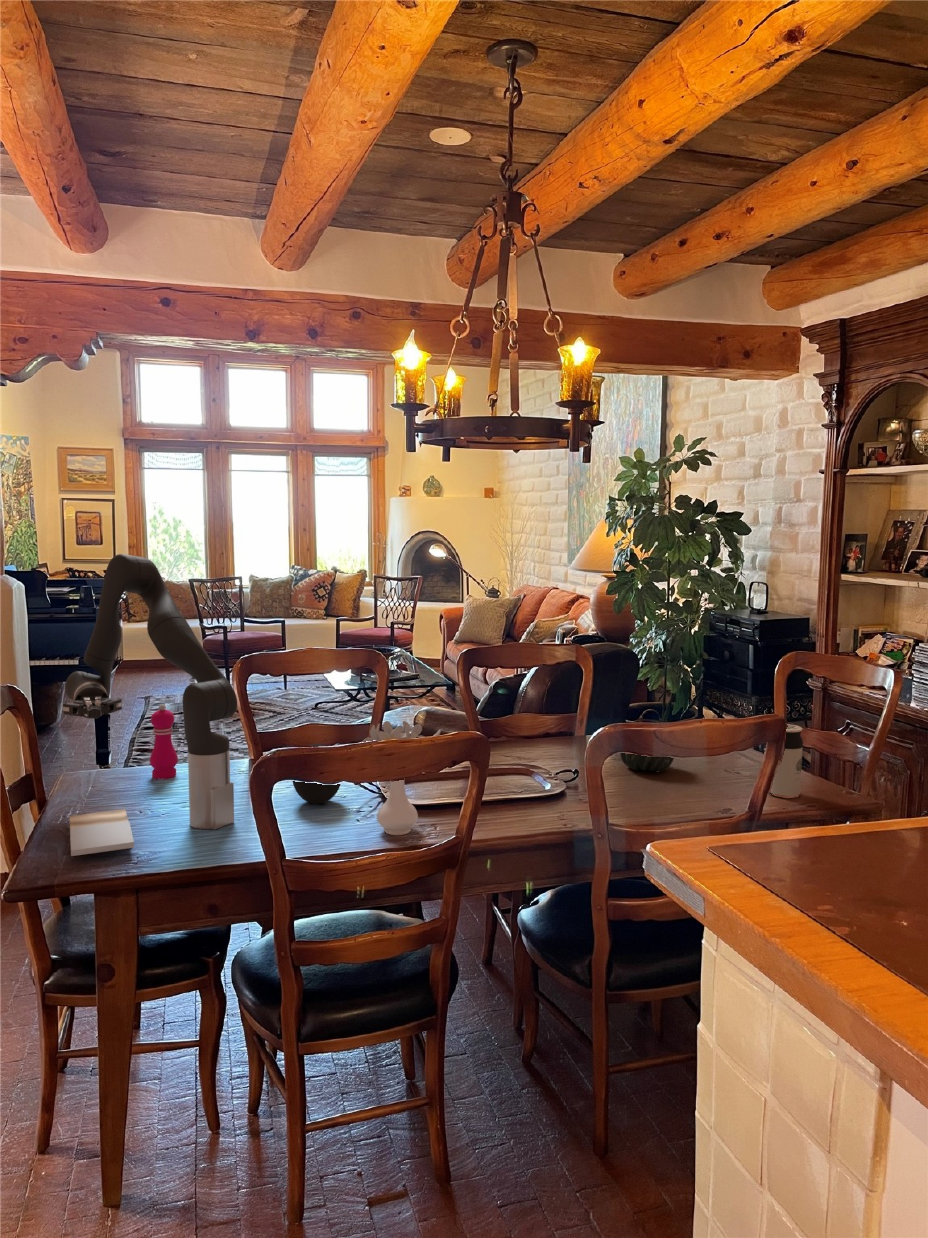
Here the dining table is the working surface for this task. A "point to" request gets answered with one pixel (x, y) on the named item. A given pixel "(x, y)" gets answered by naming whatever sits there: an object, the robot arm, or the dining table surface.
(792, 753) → the travel mug
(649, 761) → the squash
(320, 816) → the dining table surface
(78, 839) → the white flat rectangular panel
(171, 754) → the pepper mill
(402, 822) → the flower vase
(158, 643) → the robot arm
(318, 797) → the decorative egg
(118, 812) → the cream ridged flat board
